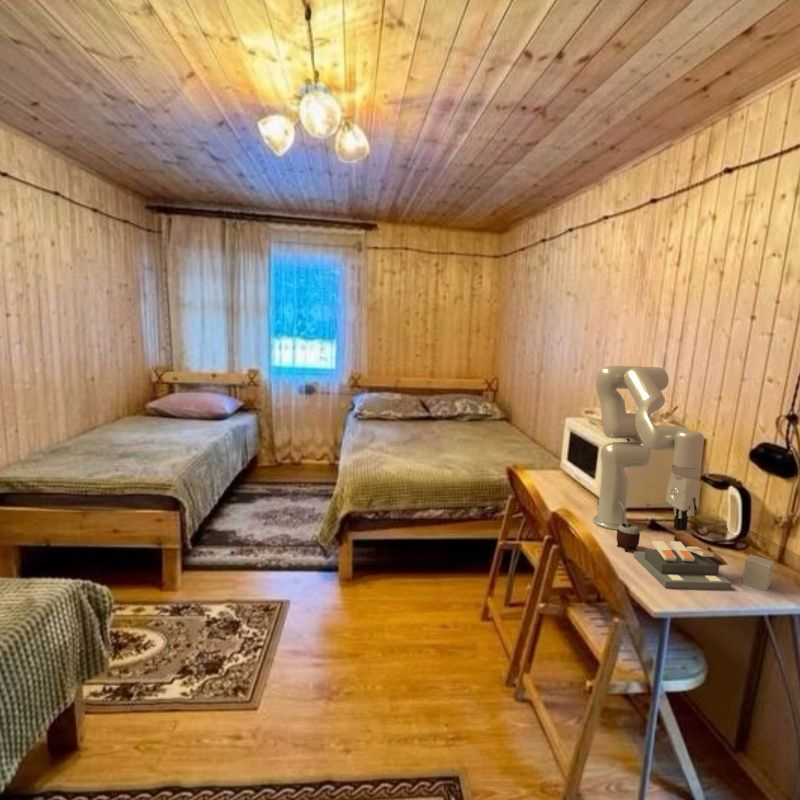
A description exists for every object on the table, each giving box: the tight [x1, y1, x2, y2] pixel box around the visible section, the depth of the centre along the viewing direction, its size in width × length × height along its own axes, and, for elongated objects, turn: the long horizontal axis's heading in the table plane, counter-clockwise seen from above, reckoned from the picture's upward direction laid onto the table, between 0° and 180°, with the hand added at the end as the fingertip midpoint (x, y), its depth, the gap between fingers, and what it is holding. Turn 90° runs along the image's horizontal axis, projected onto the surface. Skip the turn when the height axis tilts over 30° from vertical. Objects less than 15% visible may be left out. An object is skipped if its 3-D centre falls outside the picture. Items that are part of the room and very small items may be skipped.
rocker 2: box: [686, 547, 713, 557], centre depth 151 cm, size 8×3×2 cm, turn 0°
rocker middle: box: [669, 540, 695, 561], centre depth 151 cm, size 8×3×2 cm, turn 1°
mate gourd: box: [616, 501, 641, 553], centre depth 167 cm, size 8×8×15 cm
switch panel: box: [633, 548, 732, 590], centre depth 152 cm, size 19×19×5 cm
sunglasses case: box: [673, 532, 729, 566], centre depth 167 cm, size 18×7×7 cm
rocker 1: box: [652, 540, 676, 561], centre depth 151 cm, size 8×3×2 cm, turn 1°
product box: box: [742, 554, 775, 592], centre depth 147 cm, size 6×6×7 cm
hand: (680, 529), depth 153 cm, fingers closed
